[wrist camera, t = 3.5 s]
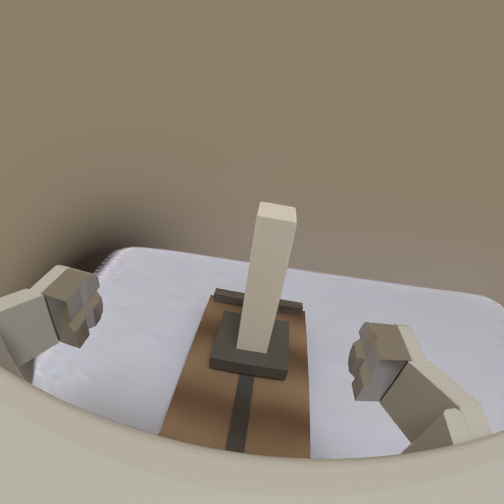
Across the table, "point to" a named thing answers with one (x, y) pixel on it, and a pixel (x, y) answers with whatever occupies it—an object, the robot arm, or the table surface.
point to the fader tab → (260, 303)
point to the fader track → (242, 393)
